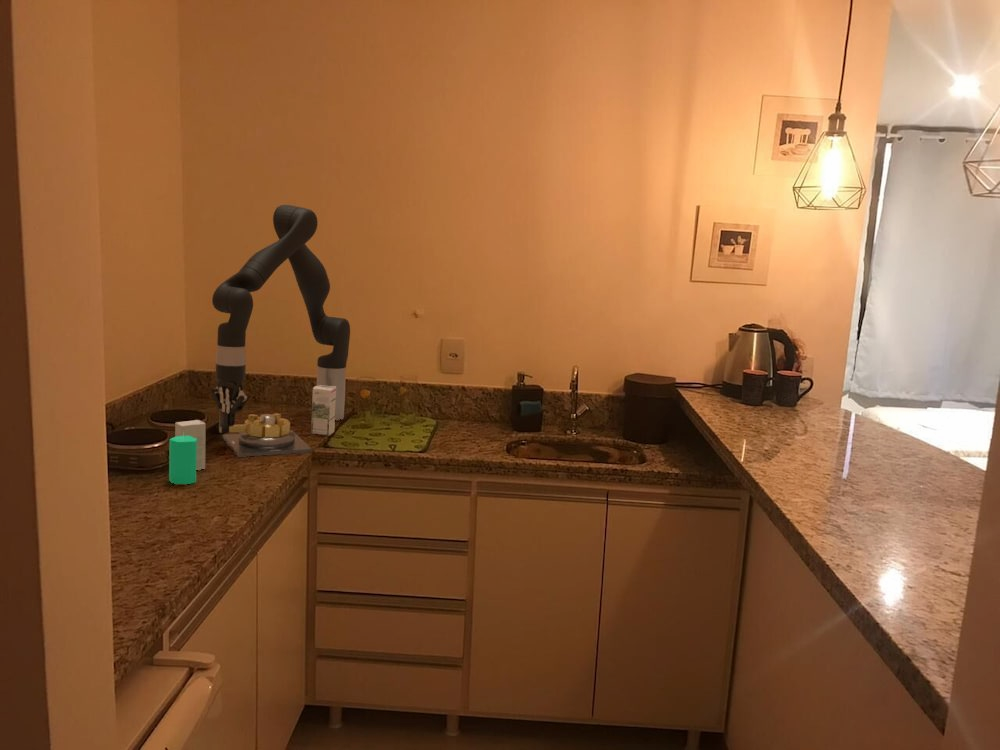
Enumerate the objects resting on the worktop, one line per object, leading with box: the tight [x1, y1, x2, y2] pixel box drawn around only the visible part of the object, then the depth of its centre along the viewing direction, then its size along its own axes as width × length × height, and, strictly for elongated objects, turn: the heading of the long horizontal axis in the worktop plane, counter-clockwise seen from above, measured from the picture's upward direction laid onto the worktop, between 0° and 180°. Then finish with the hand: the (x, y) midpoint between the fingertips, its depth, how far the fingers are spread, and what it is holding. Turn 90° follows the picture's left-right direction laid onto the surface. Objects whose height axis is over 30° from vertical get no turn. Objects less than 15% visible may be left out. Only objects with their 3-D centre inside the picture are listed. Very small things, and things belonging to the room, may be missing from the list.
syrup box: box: [310, 384, 336, 437], centre depth 234 cm, size 6×6×14 cm
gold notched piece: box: [218, 409, 291, 438], centre depth 215 cm, size 19×12×7 cm, turn 120°
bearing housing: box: [222, 413, 313, 458], centre depth 218 cm, size 20×20×8 cm
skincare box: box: [174, 419, 207, 471], centre depth 191 cm, size 6×4×12 cm
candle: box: [168, 432, 197, 485], centre depth 182 cm, size 6×6×12 cm
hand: (228, 425), depth 208 cm, fingers closed
